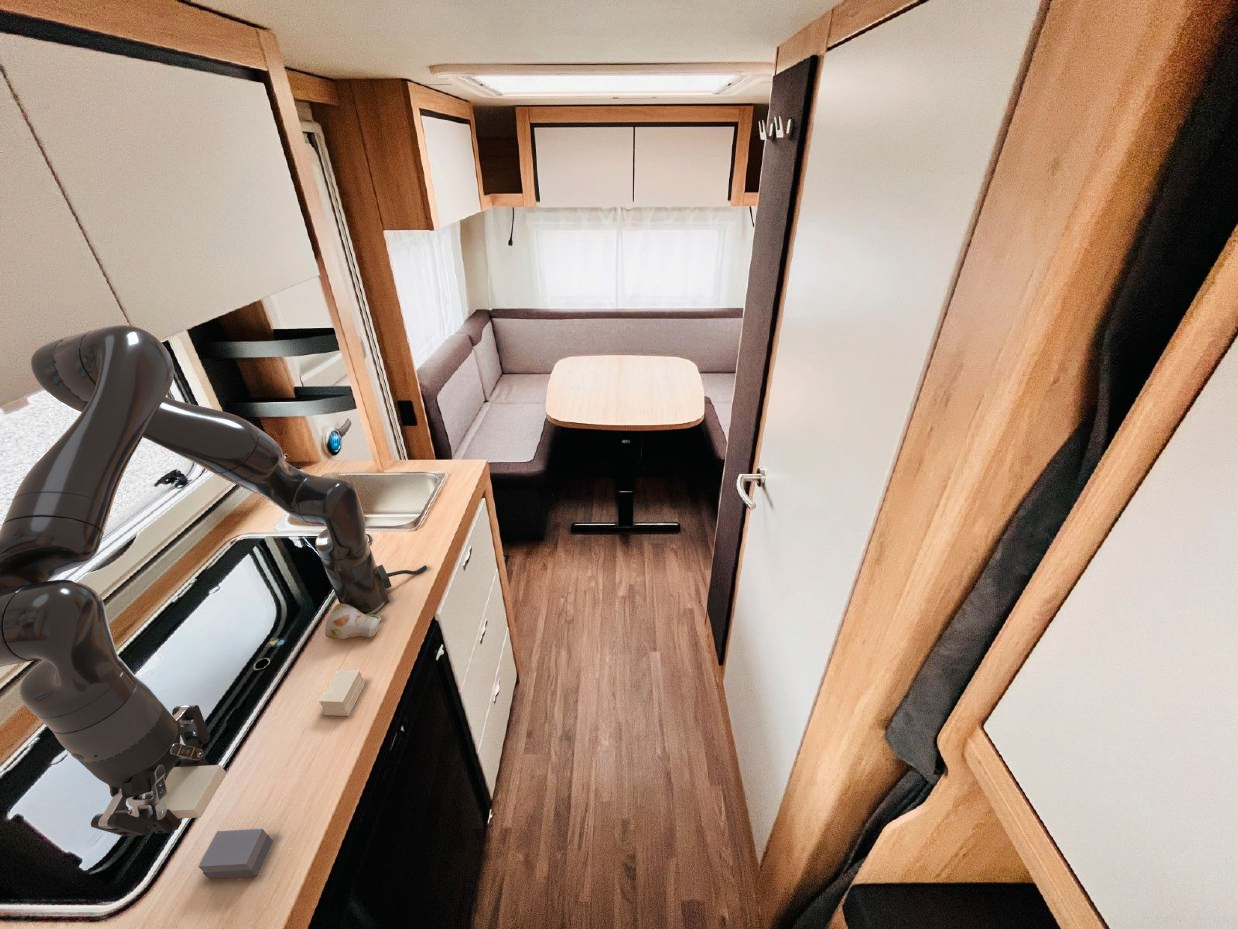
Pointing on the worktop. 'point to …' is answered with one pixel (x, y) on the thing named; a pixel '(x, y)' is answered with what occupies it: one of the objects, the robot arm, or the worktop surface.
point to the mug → (350, 623)
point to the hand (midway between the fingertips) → (187, 800)
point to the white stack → (342, 692)
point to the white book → (191, 789)
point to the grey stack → (235, 854)
